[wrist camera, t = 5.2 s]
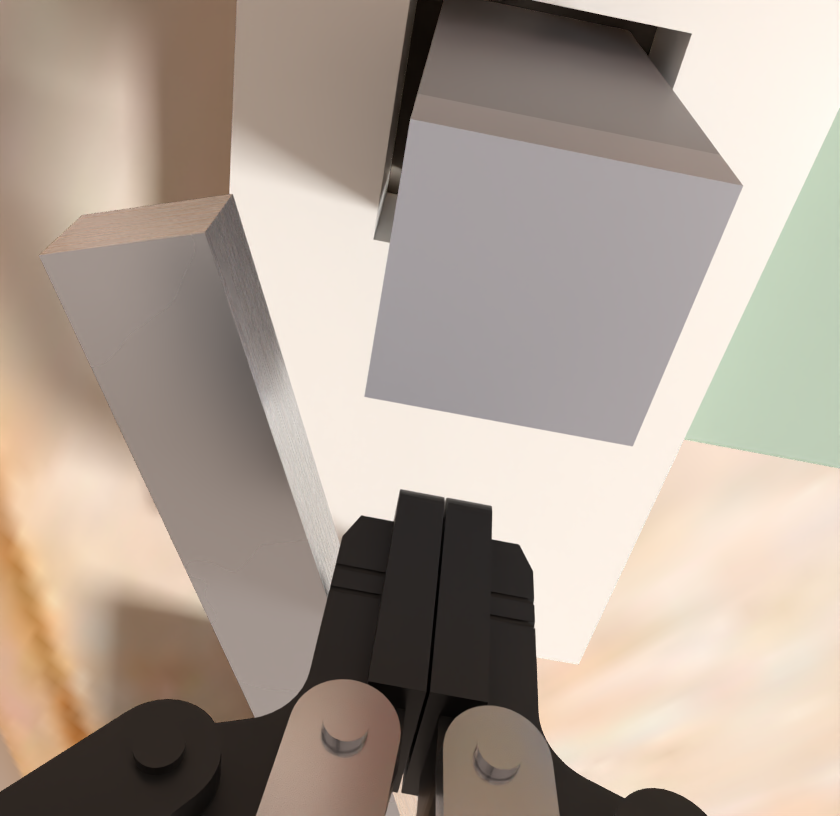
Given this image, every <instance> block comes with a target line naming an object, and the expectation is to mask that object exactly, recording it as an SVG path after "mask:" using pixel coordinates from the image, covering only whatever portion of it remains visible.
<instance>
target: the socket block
mask: <svg viewBox="0 0 840 816" xmlns="http://www.w3.org/2000/svg"><path fill="white" fill-rule="evenodd" d="M534 1H539V2H544V3H549V4H553V5H558V6H563V7H568V8H573V9H577V10H582V11H587V12H592V13H596V14H601V15H606V16H611V17H616V18H620V19H625V20H630V21H635V22H639V23H644V24H649V25H654V26H658V28H657V31H656V34H655V37H654V40H653V43H652V46H651V49H650V53H649V56H648V57H649V58H650V60H651V61H652V62H653V64H654V65H655V67H656V68H657V69H658V71H659V72H660V73H661V75H662V76H663V77H664V79H665V80H666V81H667V83H668V84H669V86H670V87H671V88H672V90H673V91H674V92H675V94H676V95H677V96H678V98H679V99H680V101H681V102H682V103H683V105H684V106H685V107H686V109H687V110H688V111H689V113H690V114H691V115H692V117H693V118H694V120H695V121H696V122H697V124H698V125H699V126H700V128H701V129H702V130H703V132H704V133H705V134H706V136H707V137H708V139H709V140H710V141H711V143H712V144H713V145H714V147H715V148H716V149H717V151H718V152H719V154H720V155H721V156H722V158H723V159H724V160H725V162H726V163H727V164H728V166H729V167H730V168H731V170H732V171H733V173H734V174H735V175H736V177H737V178H738V179H739V181H740V182H741V183H742V185H743V188H742V190H741V192H740V195H739V197H738V200H737V202H736V204H735V207H734V209H733V211H732V214H731V216H730V218H729V221H728V223H727V225H726V228H725V230H724V233H723V235H722V237H721V240H720V242H719V244H718V247H717V249H716V251H715V254H714V256H713V258H712V261H711V263H710V266H709V268H708V270H707V273H706V275H705V277H704V280H703V282H702V284H701V287H700V289H699V291H698V294H697V296H696V299H695V301H694V303H693V306H692V308H691V310H690V313H689V315H688V317H687V320H686V322H685V324H684V327H683V329H682V332H681V334H680V336H679V339H678V341H677V343H676V346H675V348H674V350H673V353H672V355H671V357H670V360H669V362H668V365H667V367H666V369H665V372H664V374H663V376H662V379H661V381H660V383H659V386H658V388H657V390H656V393H655V395H654V398H653V400H652V402H651V405H650V407H649V409H648V412H647V414H646V416H645V419H644V421H643V423H642V426H641V428H640V431H639V433H638V435H637V438H636V440H635V442H634V445H633V446H627V445H622V444H616V443H611V442H605V441H600V440H595V439H589V438H584V437H578V436H573V435H568V434H562V433H557V432H551V431H546V430H541V429H535V428H530V427H524V426H519V425H513V424H508V423H503V422H497V421H492V420H486V419H481V418H476V417H470V416H465V415H459V414H454V413H449V412H443V411H438V410H432V409H427V408H422V407H416V406H411V405H405V404H400V403H394V402H389V401H384V400H378V399H373V398H367V397H364V396H365V389H366V383H367V377H368V371H369V365H370V359H371V353H372V347H373V341H374V335H375V329H376V323H377V317H378V311H379V305H380V299H381V293H382V287H383V281H384V275H385V269H386V263H387V257H388V251H389V245H390V239H391V233H392V227H393V221H394V214H395V208H396V202H397V196H398V194H392V193H387V189H388V183H389V176H390V170H391V164H392V157H393V151H394V145H395V138H396V132H397V126H398V119H399V113H400V107H401V100H402V94H403V88H404V81H405V75H406V69H407V62H408V56H409V49H410V43H411V37H412V30H413V24H414V18H415V11H416V5H417V0H237V7H236V32H235V58H234V84H233V110H232V136H231V162H230V188H229V194H233V196H234V199H235V202H236V206H237V209H238V212H239V216H240V219H241V222H242V225H243V229H244V232H245V235H246V238H247V242H248V245H249V248H250V252H251V255H252V258H253V261H254V265H255V268H256V271H257V274H258V278H259V281H260V284H261V287H262V291H263V294H264V297H265V301H266V304H267V307H268V310H269V314H270V317H271V320H272V323H273V327H274V330H275V333H276V336H277V340H278V343H279V346H280V350H281V353H282V356H283V359H284V363H285V366H286V369H287V372H288V376H289V379H290V382H291V385H292V389H293V392H294V395H295V399H296V402H297V405H298V408H299V412H300V415H301V418H302V421H303V425H304V428H305V431H306V434H307V438H308V441H309V444H310V448H311V451H312V454H313V457H314V461H315V464H316V467H317V470H318V474H319V477H320V480H321V484H322V487H323V490H324V493H325V497H326V500H327V503H328V506H329V510H330V513H331V516H332V519H333V523H334V526H335V529H336V533H337V536H338V539H339V542H340V544H341V540H342V536H343V535H344V534H345V533H346V532H347V531H348V529H349V528H350V527H351V526H352V525H353V524H354V523H355V522H356V521H357V519H358V518H359V517H360V516H361V515H362V516H368V517H373V518H378V519H384V520H389V521H394V516H395V511H396V506H397V501H398V496H399V492H400V489H403V490H409V491H414V492H419V493H425V494H430V495H435V496H441V497H444V498H445V500H446V498H453V499H458V500H464V501H469V502H474V503H480V504H485V505H490V506H492V539H493V540H498V541H504V542H509V543H514V544H519V545H520V547H521V549H522V551H523V553H524V555H525V556H526V558H527V560H528V562H529V564H530V566H531V568H532V570H533V579H534V603H533V605H534V606H535V625H534V628H535V634H536V657H538V658H543V659H549V660H555V661H561V662H567V663H573V664H578V665H579V663H580V660H581V658H582V656H583V654H584V652H585V650H586V648H587V645H588V643H589V641H590V639H591V637H592V635H593V633H594V631H595V628H596V626H597V624H598V622H599V620H600V618H601V616H602V613H603V611H604V609H605V607H606V605H607V603H608V601H609V599H610V596H611V594H612V592H613V590H614V588H615V586H616V584H617V581H618V579H619V577H620V575H621V573H622V571H623V569H624V567H625V564H626V562H627V560H628V558H629V556H630V554H631V552H632V549H633V547H634V545H635V543H636V541H637V539H638V537H639V535H640V532H641V530H642V528H643V526H644V524H645V522H646V520H647V517H648V515H649V513H650V511H651V509H652V507H653V505H654V503H655V500H656V498H657V496H658V494H659V492H660V490H661V488H662V485H663V483H664V481H665V479H666V477H667V475H668V473H669V471H670V468H671V466H672V464H673V462H674V460H675V458H676V456H677V453H678V451H679V449H680V447H681V445H682V443H683V441H684V439H685V436H686V434H687V432H688V430H689V428H690V426H691V424H692V421H693V419H694V417H695V415H696V413H697V411H698V409H699V407H700V404H701V402H702V400H703V398H704V396H705V394H706V392H707V389H708V387H709V385H710V383H711V381H712V379H713V377H714V375H715V372H716V370H717V368H718V366H719V364H720V362H721V360H722V357H723V355H724V353H725V351H726V349H727V347H728V345H729V343H730V340H731V338H732V336H733V334H734V332H735V330H736V328H737V325H738V323H739V321H740V319H741V317H742V315H743V313H744V311H745V308H746V306H747V304H748V302H749V300H750V298H751V296H752V293H753V291H754V289H755V287H756V285H757V283H758V281H759V279H760V276H761V274H762V272H763V270H764V268H765V266H766V264H767V261H768V259H769V257H770V255H771V253H772V251H773V249H774V247H775V244H776V242H777V240H778V238H779V236H780V234H781V232H782V229H783V227H784V225H785V223H786V221H787V219H788V217H789V215H790V212H791V210H792V208H793V206H794V204H795V202H796V200H797V197H798V195H799V193H800V191H801V189H802V187H803V185H804V183H805V180H806V178H807V176H808V174H809V172H810V170H811V168H812V165H813V163H814V161H815V159H816V157H817V155H818V153H819V151H820V148H821V146H822V144H823V142H824V140H825V138H826V136H827V133H828V131H829V129H830V127H831V125H832V123H833V121H834V119H835V116H836V114H837V112H838V110H839V108H840V0H534ZM417 797H418V796H417Z"/></svg>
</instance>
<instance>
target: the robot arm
mask: <svg viewBox="0 0 840 816" xmlns="http://www.w3.org/2000/svg"><path fill="white" fill-rule="evenodd" d="M533 603H534V579H533V570H532V568H531V566H530V564H529V562H528V560H527V558H526V556H525V555H524V553H523V551H522V549H521V547H520V545H519V544H514V543H509V542H504V541H498V540H493V539H492V506H490V505H485V504H480V503H474V502H469V501H464V500H458V499H453V498H446V500H445V498H444V497H441V496H435V495H430V494H425V493H419V492H414V491H409V490H403V489H400V492H399V496H398V501H397V506H396V511H395V516H394V521H389V520H384V519H378V518H373V517H368V516H362V515H361V516H360V517H359V518H358V519H357V521H356V522H355V523H354V524H353V525H352V526H351V527H350V528H349V529H348V531H347V532H346V533H345V534H344V535H343V536H342V540H341V544H340V548H339V552H338V556H337V560H336V565H335V569H334V573H333V577H332V581H331V585H330V590H329V593H328V598H327V602H326V606H325V610H324V614H323V618H322V622H321V626H320V631H319V635H318V639H317V643H316V647H315V651H314V655H313V659H312V664H311V668H310V672H309V675H308V678H307V680H306V682H305V684H304V686H303V688H302V689H301V690H300V691H299V693H298V694H297V695H296V696H295V697H294V698H293V699H292V700H291V701H290V702H289V703H287V704H286V705H284V706H283V707H282V708H280V709H278V710H276V711H274V712H272V713H269V714H266V715H264V716H261V717H256V718H251V719H243V720H236V721H228V722H221V723H215V722H214V721H213V720H212V718H211V717H210V716H209V715H208V714H207V713H206V712H205V711H204V710H202V709H201V708H199V707H197V706H196V705H193V704H191V703H188V702H185V701H180V700H172V699H164V700H155V701H151V702H147V703H144V704H141V705H139V706H136V707H134V708H133V709H131V710H129V711H127V712H125V713H124V714H122V715H121V716H119V717H118V718H116V719H114V720H113V721H111V722H110V723H108V724H106V725H105V726H103V727H102V728H100V729H99V730H97V731H95V732H94V733H92V734H91V735H89V736H88V737H86V738H84V739H83V740H81V741H80V742H78V743H77V744H75V745H73V746H72V747H70V748H69V749H67V750H65V751H64V752H62V753H61V754H59V755H58V756H56V757H54V758H53V759H51V760H50V761H48V762H47V763H45V764H43V765H42V766H40V767H39V768H37V769H35V770H34V771H32V772H31V773H29V774H28V775H26V776H24V777H23V778H21V779H20V780H18V781H17V782H15V783H13V784H12V785H10V786H9V787H7V788H6V789H4V790H2V791H1V792H0V816H385V815H386V812H387V808H388V804H389V801H390V797H391V794H392V792H396V793H398V790H399V787H400V783H401V780H402V776H403V781H402V790H401V793H404V794H409V795H415V796H418V803H417V814H416V816H707V815H706V814H705V813H704V812H703V811H702V810H701V809H700V808H699V807H698V806H696V805H695V804H694V803H693V802H691V801H689V800H688V799H686V798H685V797H683V796H681V795H679V794H676V793H674V792H671V791H668V790H664V789H657V788H647V789H642V790H638V791H635V792H633V793H631V794H630V795H628V796H627V797H626V798H623V797H621V796H619V795H617V794H615V793H613V792H611V791H609V790H607V789H605V788H603V787H602V786H600V785H598V784H596V783H594V782H592V781H590V780H588V779H586V778H584V777H583V776H581V775H579V774H578V773H576V772H575V771H573V770H572V769H571V768H569V767H568V766H567V765H566V764H565V763H564V762H563V761H562V760H561V759H560V758H559V757H558V756H557V755H556V754H555V752H554V751H553V750H552V748H551V747H550V745H549V744H548V742H547V740H546V738H545V736H544V734H543V731H542V728H541V725H540V721H539V713H538V688H537V661H536V634H535V628H534V625H535V606H534V605H533Z"/></svg>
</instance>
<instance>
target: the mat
mask: <svg viewBox="0 0 840 816" xmlns="http://www.w3.org/2000/svg"><path fill="white" fill-rule="evenodd" d="M685 440H690V441H695V442H701V443H706V444H711V445H717V446H722V447H728V448H733V449H738V450H744V451H749V452H754V453H760V454H765V455H771V456H776V457H781V458H787V459H792V460H797V461H803V462H808V463H814V464H819V465H824V466H830V467H835V468H840V108H839V110H838V112H837V114H836V116H835V119H834V121H833V123H832V125H831V127H830V129H829V131H828V133H827V136H826V138H825V140H824V142H823V144H822V146H821V148H820V151H819V153H818V155H817V157H816V159H815V161H814V163H813V165H812V168H811V170H810V172H809V174H808V176H807V178H806V180H805V183H804V185H803V187H802V189H801V191H800V193H799V195H798V197H797V200H796V202H795V204H794V206H793V208H792V210H791V212H790V215H789V217H788V219H787V221H786V223H785V225H784V227H783V229H782V232H781V234H780V236H779V238H778V240H777V242H776V244H775V247H774V249H773V251H772V253H771V255H770V257H769V259H768V261H767V264H766V266H765V268H764V270H763V272H762V274H761V276H760V279H759V281H758V283H757V285H756V287H755V289H754V291H753V293H752V296H751V298H750V300H749V302H748V304H747V306H746V308H745V311H744V313H743V315H742V317H741V319H740V321H739V323H738V325H737V328H736V330H735V332H734V334H733V336H732V338H731V340H730V343H729V345H728V347H727V349H726V351H725V353H724V355H723V357H722V360H721V362H720V364H719V366H718V368H717V370H716V372H715V375H714V377H713V379H712V381H711V383H710V385H709V387H708V389H707V392H706V394H705V396H704V398H703V400H702V402H701V404H700V407H699V409H698V411H697V413H696V415H695V417H694V419H693V421H692V424H691V426H690V428H689V430H688V432H687V434H686V436H685Z"/></svg>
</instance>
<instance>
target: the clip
mask: <svg viewBox="0 0 840 816" xmlns="http://www.w3.org/2000/svg"><path fill="white" fill-rule="evenodd" d="M39 257H40V259H41V261H42V263H43V265H44V268H45V270H46V272H47V274H48V276H49V278H50V280H51V283H52V285H53V287H54V289H55V291H56V293H57V295H58V298H59V300H60V302H61V304H62V306H63V308H64V310H65V313H66V315H67V317H68V319H69V321H70V323H71V325H72V328H73V330H74V332H75V334H76V336H77V338H78V340H79V343H80V345H81V347H82V349H83V351H84V353H85V355H86V358H87V360H88V362H89V364H90V366H91V368H92V370H93V372H94V375H95V377H96V379H97V381H98V383H99V385H100V387H101V390H102V392H103V394H104V396H105V398H106V400H107V402H108V405H109V407H110V409H111V411H112V413H113V415H114V417H115V420H116V422H117V424H118V426H119V428H120V430H121V432H122V435H123V437H124V439H125V441H126V443H127V445H128V447H129V450H130V452H131V454H132V456H133V458H134V460H135V462H136V465H137V467H138V469H139V471H140V473H141V475H142V477H143V480H144V482H145V484H146V486H147V488H148V490H149V492H150V494H151V497H152V499H153V501H154V503H155V505H156V507H157V509H158V512H159V514H160V516H161V518H162V520H163V522H164V524H165V527H166V529H167V531H168V533H169V535H170V537H171V539H172V542H173V544H174V546H175V548H176V550H177V552H178V554H179V557H180V559H181V561H182V563H183V565H184V567H185V569H186V572H187V574H188V576H189V578H190V580H191V582H192V584H193V587H194V589H195V591H196V593H197V595H198V597H199V599H200V602H201V604H202V606H203V608H204V610H205V612H206V614H207V617H208V619H209V621H210V623H211V625H212V627H213V629H214V631H215V634H216V636H217V638H218V640H219V642H220V644H221V646H222V649H223V651H224V653H225V655H226V657H227V659H228V661H229V664H230V666H231V668H232V670H233V672H234V674H235V676H236V679H237V681H238V683H239V685H240V687H241V689H242V691H243V694H244V696H245V698H246V700H247V702H248V704H249V706H250V709H251V711H252V713H253V715H254V717H255V718H256V717H261V716H264V715H266V714H269V713H272V712H274V711H276V710H278V709H280V708H282V707H283V706H284V705H286V704H287V703H289V702H290V701H291V700H292V699H293V698H294V697H295V696H296V695H297V694H298V693H299V691H300V690H301V689H302V688H303V686H304V684H305V682H306V680H307V678H308V675H309V672H310V668H311V664H312V659H313V655H314V651H315V647H316V643H317V639H318V635H319V631H320V626H321V622H322V618H323V614H324V610H325V606H326V602H327V598H328V593H329V590H330V585H331V581H332V577H333V573H334V569H335V565H336V560H337V556H338V552H339V548H340V542H339V539H338V536H337V533H336V529H335V526H334V523H333V519H332V516H331V513H330V510H329V506H328V503H327V500H326V497H325V493H324V490H323V487H322V484H321V480H320V477H319V474H318V470H317V467H316V464H315V461H314V457H313V454H312V451H311V448H310V444H309V441H308V438H307V434H306V431H305V428H304V425H303V421H302V418H301V415H300V412H299V408H298V405H297V402H296V399H295V395H294V392H293V389H292V385H291V382H290V379H289V376H288V372H287V369H286V366H285V363H284V359H283V356H282V353H281V350H280V346H279V343H278V340H277V336H276V333H275V330H274V327H273V323H272V320H271V317H270V314H269V310H268V307H267V304H266V301H265V297H264V294H263V291H262V287H261V284H260V281H259V278H258V274H257V271H256V268H255V265H254V261H253V258H252V255H251V252H250V248H249V245H248V242H247V238H246V235H245V232H244V229H243V225H242V222H241V219H240V216H239V212H238V209H237V206H236V202H235V199H234V196H233V194H227V195H220V196H213V197H206V198H199V199H192V200H185V201H178V202H171V203H164V204H157V205H150V206H143V207H136V208H129V209H122V210H115V211H108V212H101V213H94V214H87V215H82V216H81V217H80V218H79V219H77V220H76V221H75V222H74V223H73V224H72V225H71V226H70V227H69V228H68V229H67V230H66V231H64V232H63V233H62V234H61V235H60V236H59V237H58V238H57V239H56V240H55V241H54V242H52V243H51V244H50V245H49V246H48V247H47V248H46V249H45V250H44V251H43V252H42V253H41V254H39ZM402 781H403V776H402V780H401V783H400V787H399V790H398V793H396V792H392V794H391V797H390V801H389V804H388V808H387V812H386V815H385V816H416V814H417V803H418V797H417V796H415V795H409V794H404V793H401V790H402Z"/></svg>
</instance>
